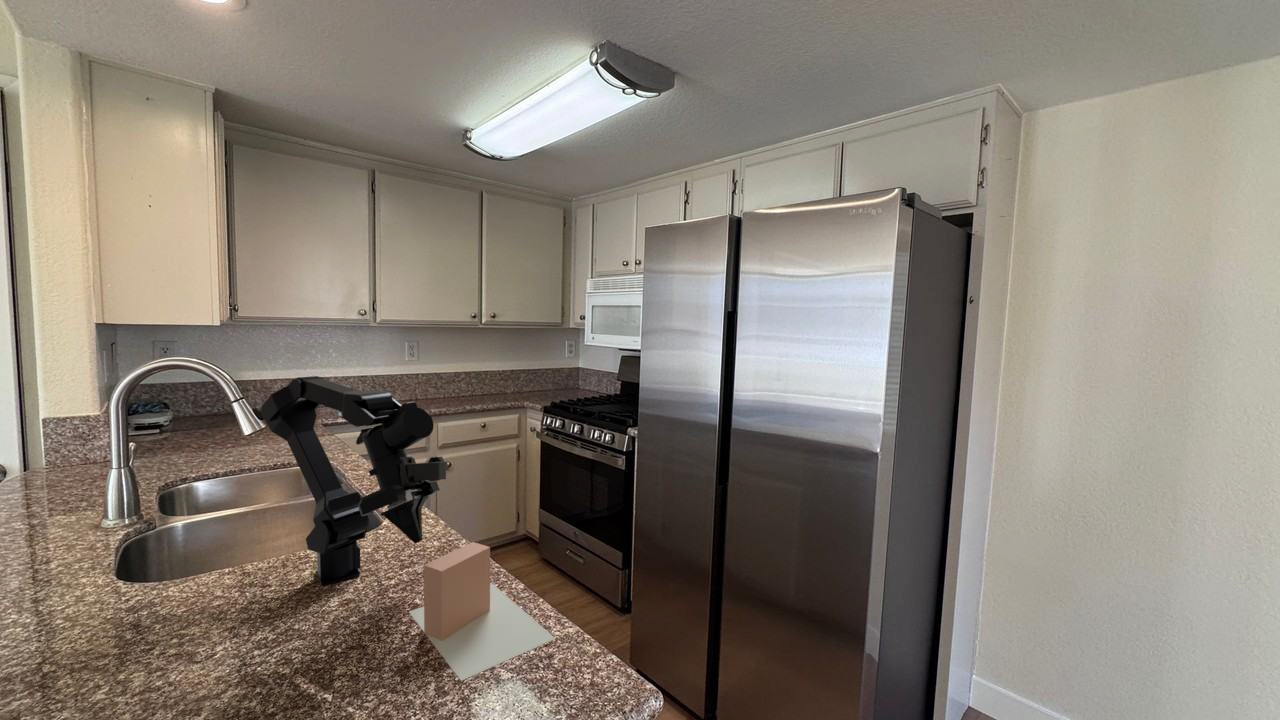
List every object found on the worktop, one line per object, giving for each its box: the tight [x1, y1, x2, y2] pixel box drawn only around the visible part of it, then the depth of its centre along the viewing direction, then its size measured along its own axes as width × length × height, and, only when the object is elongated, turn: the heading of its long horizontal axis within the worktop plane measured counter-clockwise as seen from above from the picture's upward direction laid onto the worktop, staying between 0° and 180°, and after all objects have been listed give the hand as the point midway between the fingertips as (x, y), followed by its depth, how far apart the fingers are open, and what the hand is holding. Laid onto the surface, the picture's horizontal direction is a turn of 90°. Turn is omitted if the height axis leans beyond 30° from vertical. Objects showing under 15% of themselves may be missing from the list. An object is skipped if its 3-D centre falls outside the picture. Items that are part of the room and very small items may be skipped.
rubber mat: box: [408, 583, 556, 682], centre depth 84 cm, size 15×22×1 cm
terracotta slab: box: [423, 541, 491, 641], centre depth 84 cm, size 4×10×11 cm, turn 151°
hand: (418, 542), depth 90 cm, fingers closed
